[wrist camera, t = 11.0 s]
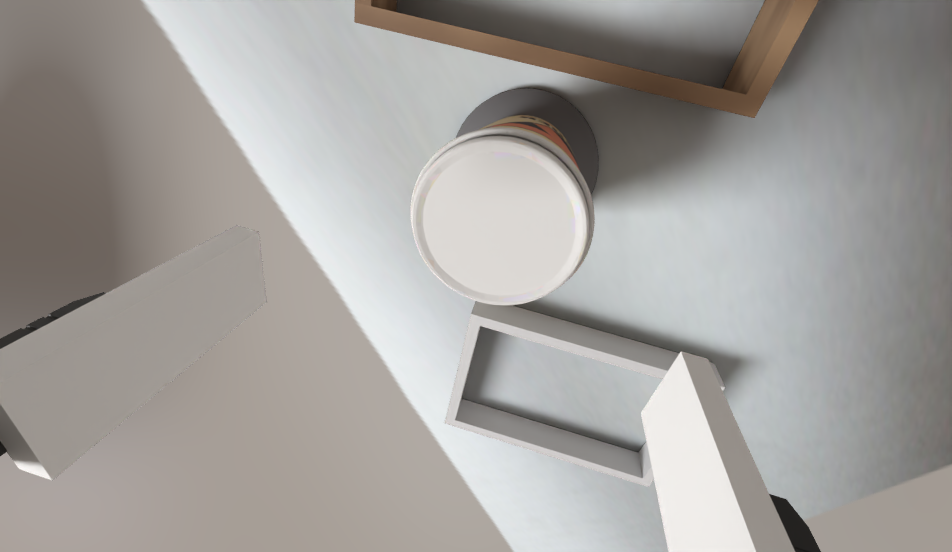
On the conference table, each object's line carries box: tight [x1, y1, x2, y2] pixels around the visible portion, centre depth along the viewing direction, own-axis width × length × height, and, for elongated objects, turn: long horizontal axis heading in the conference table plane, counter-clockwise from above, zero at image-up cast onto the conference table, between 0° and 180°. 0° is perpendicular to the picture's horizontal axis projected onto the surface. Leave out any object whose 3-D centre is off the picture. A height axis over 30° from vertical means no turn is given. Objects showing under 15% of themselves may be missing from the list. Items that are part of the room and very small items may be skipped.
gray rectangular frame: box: [445, 301, 725, 487], centre depth 38 cm, size 15×22×3 cm
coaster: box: [456, 88, 598, 194], centre depth 30 cm, size 11×11×1 cm
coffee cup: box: [411, 115, 594, 305], centre depth 24 cm, size 9×9×12 cm
